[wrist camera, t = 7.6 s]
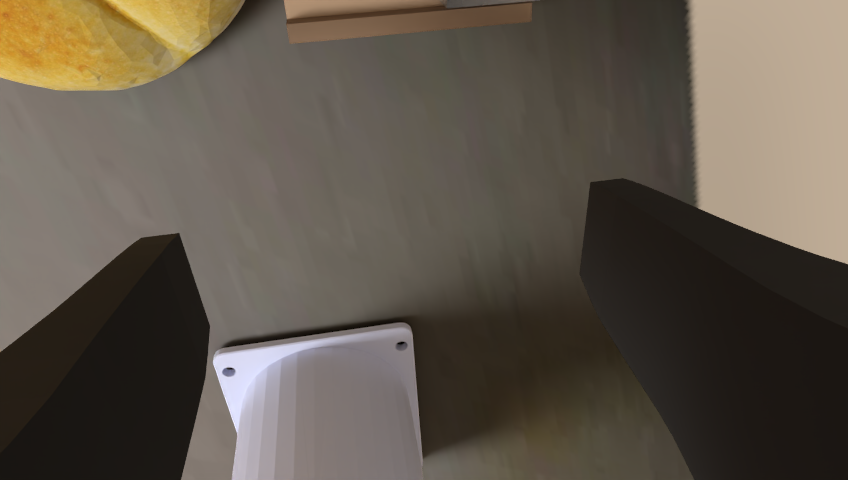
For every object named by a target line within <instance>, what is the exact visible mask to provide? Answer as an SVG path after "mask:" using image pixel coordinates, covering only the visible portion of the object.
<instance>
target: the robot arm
mask: <svg viewBox="0 0 848 480" xmlns="http://www.w3.org/2000/svg"><path fill="white" fill-rule="evenodd" d="M580 276H581V279H582V281H583V283H584V286H585V288H586V290H587V293H588V295H589V298H590V300H591V302H592V304H593V306H594V308H595V310H596V313H597V315H598V317H599V319H600V320H601V322H602V324H603V325H604V327H605V329H606V330H607V332H608V334H609V335H610V337H611V338H612V340H613V342H614V343H615V345H616V346H617V348H618V349H619V351H620V353H621V354H622V356H623V357H624V359H625V360H626V362H627V364H628V365H629V367H630V368H631V370H632V371H633V373H634V375H635V376H636V378H637V379H638V381H639V382H640V384H641V385H642V387H643V389H644V390H645V392H646V393H647V395H648V396H649V398H650V399H651V401H652V403H653V404H654V406H655V407H656V409H657V410H658V412H659V414H660V415H661V417H662V419H663V420H664V422H665V424H666V425H667V427H668V429H669V431H670V432H671V434H672V436H673V438H674V439H675V441H676V443H677V445H678V447H679V449H680V451H681V453H682V455H683V457H684V459H685V461H686V464H687V466H688V468H689V470H690V472H691V474H692V476H693V478H694V480H848V264H845V263H842V262H839V261H835V260H832V259H829V258H825V257H822V256H819V255H816V254H813V253H810V252H807V251H804V250H801V249H798V248H795V247H793V246H790V245H787V244H785V243H782V242H780V241H777V240H774V239H772V238H769V237H766V236H764V235H761V234H758V233H756V232H753V231H751V230H748V229H746V228H743V227H741V226H738V225H736V224H733V223H731V222H729V221H726V220H724V219H721V218H719V217H716V216H714V215H712V214H710V213H708V212H705V211H703V210H701V209H698V208H696V207H694V206H691V205H689V204H687V203H684V202H682V201H680V200H678V199H675V198H673V197H671V196H668V195H666V194H664V193H661V192H659V191H657V190H654V189H652V188H649V187H647V186H644V185H642V184H639V183H636V182H633V181H630V180H627V179H623V178H622V179H614V180H606V181H598V182H590V191H589V199H588V208H587V216H586V224H585V233H584V241H583V249H582V258H581V266H580ZM209 331H210V325H209V322H208V319H207V316H206V313H205V310H204V307H203V304H202V301H201V298H200V295H199V292H198V289H197V286H196V283H195V280H194V277H193V274H192V271H191V268H190V265H189V262H188V259H187V256H186V253H185V250H184V247H183V243H182V240H181V237H180V234H179V233H176V234H168V235H160V236H152V237H144V238H141V239H139V240H138V241H136V242H135V243H133V244H132V245H131V246H129V247H128V248H127V249H126V250H124V251H123V252H122V253H121V254H120V255H118V256H117V257H116V258H115V259H114V260H112V261H111V262H110V263H109V264H108V265H107V266H105V267H104V268H103V269H102V270H101V271H100V272H98V273H97V274H96V275H95V276H94V277H93V278H92V279H90V280H89V281H88V282H87V283H86V284H84V285H83V286H82V287H81V288H80V289H79V290H77V291H76V292H75V293H74V294H73V295H72V296H70V297H69V298H68V299H67V300H66V301H64V302H63V303H62V304H61V305H60V306H59V307H57V308H56V309H55V310H54V311H53V312H51V313H50V314H49V315H47V316H46V317H45V318H44V319H42V320H41V321H40V322H38V323H37V324H36V325H35V326H33V327H32V328H31V329H30V330H28V331H27V332H26V333H24V334H23V335H22V336H21V337H19V338H18V339H17V340H15V341H14V342H13V343H12V344H10V345H9V346H8V347H7V348H5V349H4V350H3V351H1V352H0V480H181V477H182V473H183V469H184V465H185V461H186V457H187V452H188V448H189V444H190V440H191V436H192V432H193V428H194V424H195V420H196V415H197V411H198V407H199V403H200V398H201V394H202V390H203V385H204V381H205V375H206V366H207V356H208V344H209ZM398 342H405V343H404V344H401V345H400V344H397V343H398ZM213 364H214V367H215V370H216V373H217V376H218V379H219V382H220V385H221V388H222V391H223V393H224V396H225V399H226V402H227V405H228V408H229V411H230V414H231V417H232V420H233V423H234V425H235V428H236V431H237V434H238V436H237V444H236V451H235V459H234V467H233V475H232V480H424V478H423V472H422V466H423V458H422V446H421V433H420V421H419V408H418V396H417V384H416V371H415V359H414V347H413V335H412V330H411V327H410V326H409V325H408V324H406V323H392V324H385V325H378V326H371V327H365V328H358V329H351V330H344V331H337V332H330V333H323V334H316V335H309V336H302V337H295V338H289V339H282V340H275V341H268V342H261V343H254V344H247V345H240V346H233V347H226V348H222V349H219V350H218V351H216V353H215V355H214V359H213ZM227 367H231V368H234V369H232V370H228V369H226V368H227Z"/></svg>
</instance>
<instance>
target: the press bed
mask: <svg viewBox="0 0 848 480" xmlns="http://www.w3.org/2000/svg"><path fill="white" fill-rule="evenodd" d="M284 3H285V9H286V15H287V24H286V25H287V31H288V36H289V42H290V44H292V43H303V42H314V41H325V40H336V39H347V38H358V37H369V36H380V35H390V34H401V33H412V32H423V31H434V30H445V29H456V28H467V27H478V26H489V25H499V24H510V23H521V22H531V15H532V2H530V1H526V2H515V3H504V4H492V5H481V6H469V7H458V8H446V7H445V6H444V5H443V4H442V3H441V2H440V0H284Z"/></svg>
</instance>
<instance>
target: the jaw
mask: <svg viewBox="0 0 848 480" xmlns="http://www.w3.org/2000/svg"><path fill="white" fill-rule="evenodd" d="M526 1H538V0H440V2H441V3H442V4H443V5H444V6H445V7H446V8H458V7H469V6H481V5H492V4H504V3H515V2H526Z"/></svg>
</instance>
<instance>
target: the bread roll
mask: <svg viewBox="0 0 848 480" xmlns="http://www.w3.org/2000/svg"><path fill="white" fill-rule="evenodd" d="M244 2H245V0H0V77H1V78H5V79H8V80H12V81H16V82H20V83H24V84H29V85H33V86H39V87H45V88H50V89H54V90H69V91H72V90H123V89H127V88H131V87H135V86H139V85H142V84H146V83H148V82H151V81H153V80H155V79H158V78H160V77H162V76H164V75H167V74H168V73H170V72H172V71H174V70H176V69H177V68H179V67H180V66H181V65H183V64H184V63H185V62H186V61H187V60H189V59H190V58H191V57H192V56H194V55H195V54H196V53H198V52H199V51H201V50H202V49H203V48H205V47H206V46H208V45H209V44H210V43H211V42H212V40H213V39H215V38H216V37H217V36H218V35H219V34H220V33H222V32H223V31H224V30H225V29H226V27H227V26H228V25H229V24H230V23H231V21H232V20H233V18H234V17H235V16H236V14H237V13H238V12H239V10H240V9H241V7H242V5H243V3H244Z"/></svg>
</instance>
